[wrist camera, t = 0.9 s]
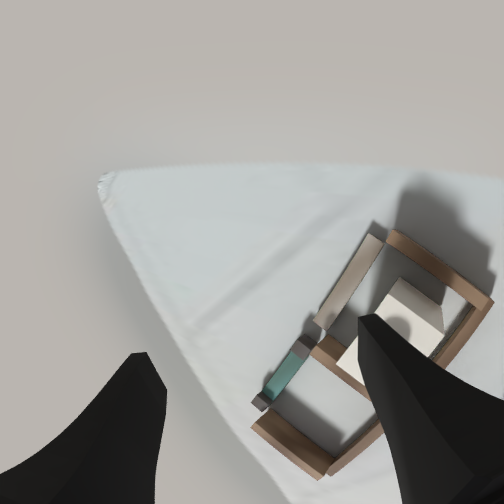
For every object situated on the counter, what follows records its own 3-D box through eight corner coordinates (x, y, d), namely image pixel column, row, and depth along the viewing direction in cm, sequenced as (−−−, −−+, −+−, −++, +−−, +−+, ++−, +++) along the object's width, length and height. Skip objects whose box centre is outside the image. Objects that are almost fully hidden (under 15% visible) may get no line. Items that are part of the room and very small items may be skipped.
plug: (441, 307, 18) (445, 342, 12) (400, 360, 19) (384, 412, 13) (399, 276, 19) (384, 297, 13) (361, 331, 21) (329, 371, 15)
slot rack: (491, 298, 16) (498, 307, 14) (335, 468, 22) (325, 486, 19) (378, 218, 20) (372, 216, 17) (253, 403, 25) (237, 416, 23)
